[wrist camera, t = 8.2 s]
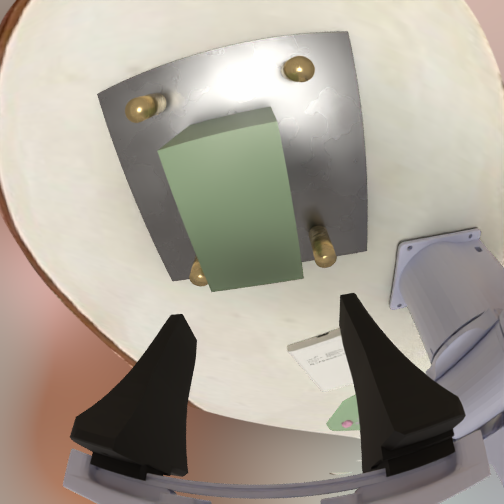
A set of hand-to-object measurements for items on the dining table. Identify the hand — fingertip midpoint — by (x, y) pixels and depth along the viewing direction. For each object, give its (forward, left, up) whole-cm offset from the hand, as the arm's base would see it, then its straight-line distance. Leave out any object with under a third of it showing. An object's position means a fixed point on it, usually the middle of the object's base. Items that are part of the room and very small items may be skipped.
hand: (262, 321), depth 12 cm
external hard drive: (-5, +20, -10) cm, 23 cm away
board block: (0, -4, -9) cm, 10 cm away
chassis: (0, -4, -9) cm, 10 cm away
